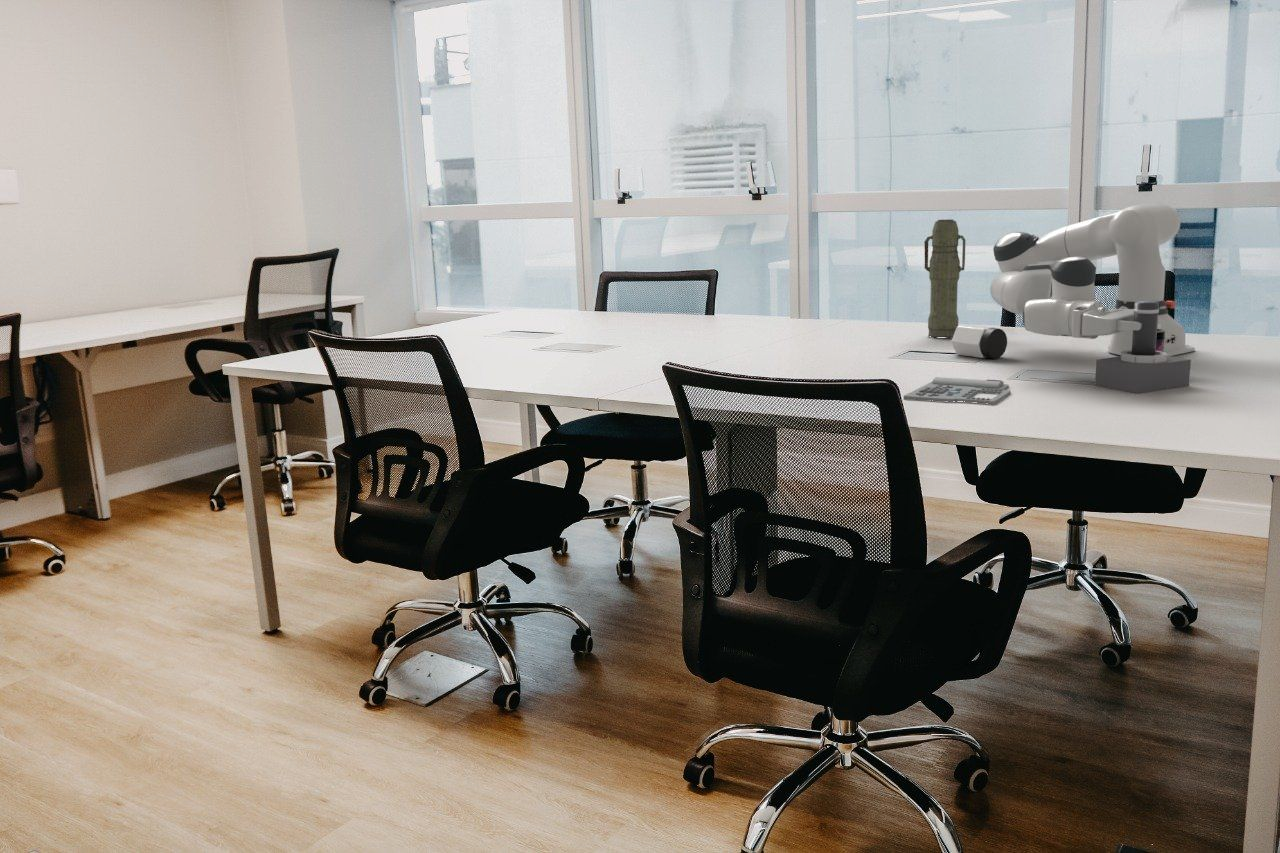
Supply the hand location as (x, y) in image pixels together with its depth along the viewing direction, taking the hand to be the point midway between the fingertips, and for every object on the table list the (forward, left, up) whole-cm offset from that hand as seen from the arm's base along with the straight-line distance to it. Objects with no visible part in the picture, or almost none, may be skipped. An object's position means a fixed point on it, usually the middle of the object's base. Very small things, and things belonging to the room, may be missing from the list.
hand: (1149, 323), depth 247 cm
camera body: (0, -1, -14) cm, 14 cm away
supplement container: (-13, -11, -14) cm, 22 cm away
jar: (+3, -59, -10) cm, 60 cm away
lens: (0, -1, -8) cm, 8 cm away
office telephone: (+38, -17, -15) cm, 44 cm away
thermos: (-14, -88, -14) cm, 90 cm away
